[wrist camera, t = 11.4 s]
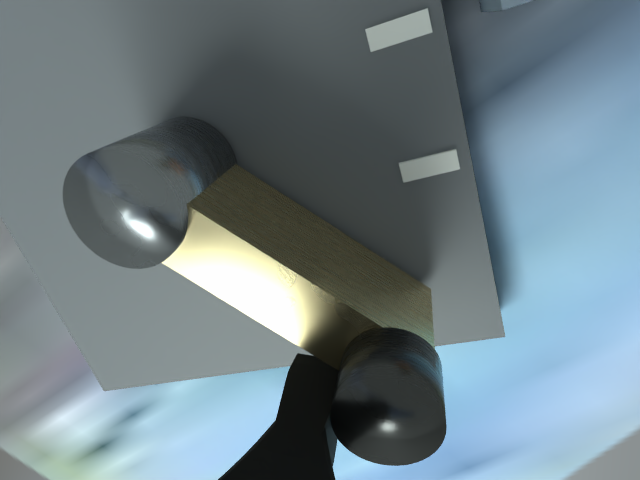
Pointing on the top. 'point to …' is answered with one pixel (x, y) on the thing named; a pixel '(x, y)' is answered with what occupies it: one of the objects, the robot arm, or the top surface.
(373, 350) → the crank
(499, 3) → the tray
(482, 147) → the top surface
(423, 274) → the plate
